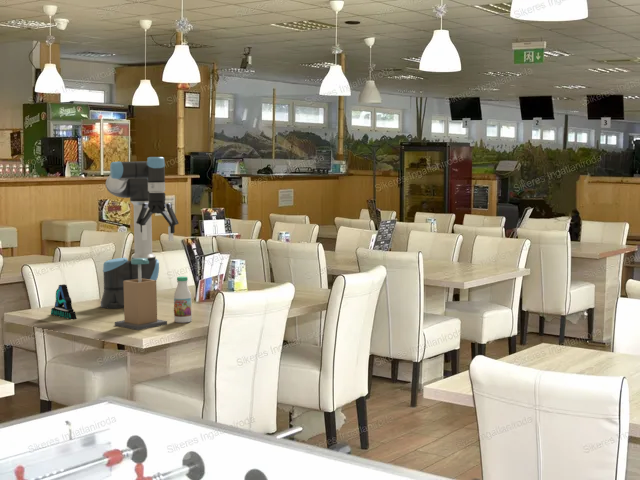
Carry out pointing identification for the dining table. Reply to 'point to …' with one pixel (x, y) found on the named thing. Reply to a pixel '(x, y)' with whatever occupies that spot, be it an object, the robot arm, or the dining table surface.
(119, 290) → the robot arm
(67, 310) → the decorative sign
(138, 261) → the pump plunger
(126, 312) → the brown pedestal box
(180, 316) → the milk bottle
